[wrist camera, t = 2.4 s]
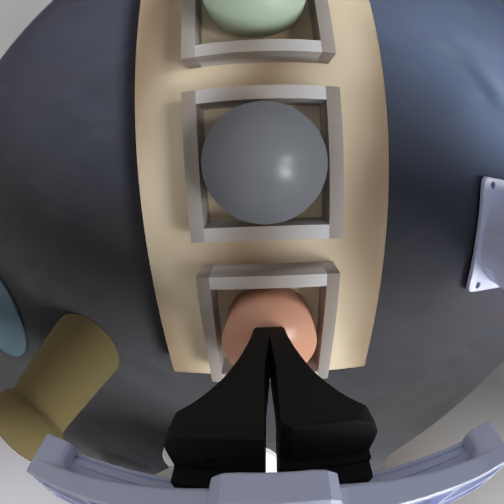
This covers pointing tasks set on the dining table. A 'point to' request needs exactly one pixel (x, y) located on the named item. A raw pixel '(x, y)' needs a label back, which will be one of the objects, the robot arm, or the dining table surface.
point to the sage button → (254, 15)
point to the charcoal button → (264, 162)
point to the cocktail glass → (10, 325)
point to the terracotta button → (269, 320)
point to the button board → (250, 234)
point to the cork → (56, 383)
